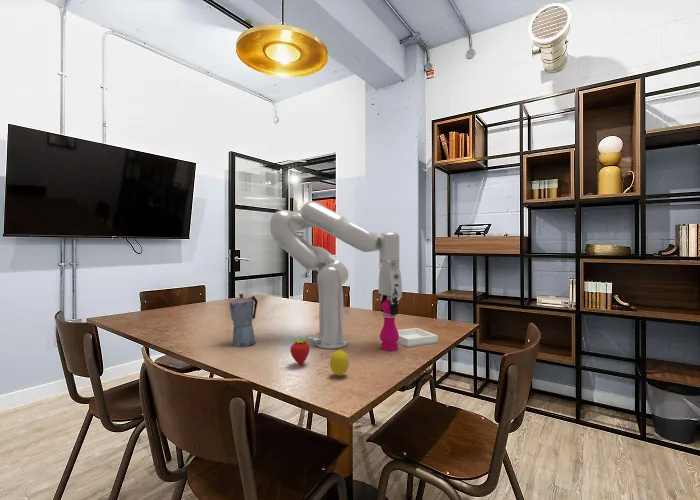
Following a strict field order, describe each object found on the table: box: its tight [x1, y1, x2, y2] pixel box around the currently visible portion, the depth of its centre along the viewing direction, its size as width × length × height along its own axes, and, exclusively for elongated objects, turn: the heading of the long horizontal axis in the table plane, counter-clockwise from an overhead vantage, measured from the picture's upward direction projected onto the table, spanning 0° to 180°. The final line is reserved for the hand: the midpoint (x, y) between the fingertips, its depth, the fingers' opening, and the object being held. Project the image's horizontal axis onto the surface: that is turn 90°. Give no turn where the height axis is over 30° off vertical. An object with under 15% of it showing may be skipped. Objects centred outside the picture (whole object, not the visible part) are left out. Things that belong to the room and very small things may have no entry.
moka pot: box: [228, 293, 258, 348], centre depth 141 cm, size 10×15×20 cm, turn 158°
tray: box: [396, 327, 439, 348], centre depth 145 cm, size 14×14×3 cm
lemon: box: [329, 349, 350, 377], centre depth 106 cm, size 6×6×8 cm
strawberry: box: [290, 337, 311, 367], centre depth 116 cm, size 6×8×10 cm
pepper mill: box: [379, 296, 399, 352], centre depth 134 cm, size 7×7×20 cm
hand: (389, 312), depth 134 cm, fingers closed on pepper mill, 6 cm apart
